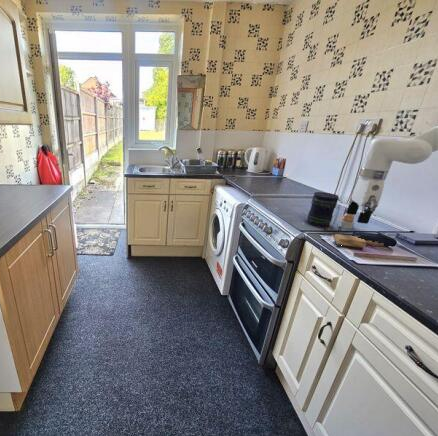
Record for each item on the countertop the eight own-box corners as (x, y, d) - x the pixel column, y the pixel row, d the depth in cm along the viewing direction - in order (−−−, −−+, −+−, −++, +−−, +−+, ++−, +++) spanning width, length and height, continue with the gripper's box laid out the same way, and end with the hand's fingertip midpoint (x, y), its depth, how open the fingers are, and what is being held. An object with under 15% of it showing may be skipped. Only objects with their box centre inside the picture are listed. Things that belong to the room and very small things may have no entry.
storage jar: (302, 219, 126) (309, 191, 121) (322, 220, 126) (331, 192, 120) (312, 227, 117) (321, 197, 112) (334, 228, 116) (344, 198, 111)
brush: (377, 248, 98) (381, 239, 96) (384, 254, 94) (388, 244, 92) (332, 242, 102) (335, 233, 101) (336, 247, 98) (339, 238, 97)
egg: (349, 225, 121) (354, 211, 118) (354, 229, 116) (359, 215, 113) (336, 223, 122) (340, 210, 120) (340, 227, 117) (345, 214, 115)
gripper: (400, 180, 80) (379, 228, 86) (373, 171, 95) (357, 212, 101) (372, 178, 82) (354, 225, 88) (350, 169, 97) (336, 210, 103)
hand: (356, 218), depth 95 cm, fingers open, 9 cm apart
